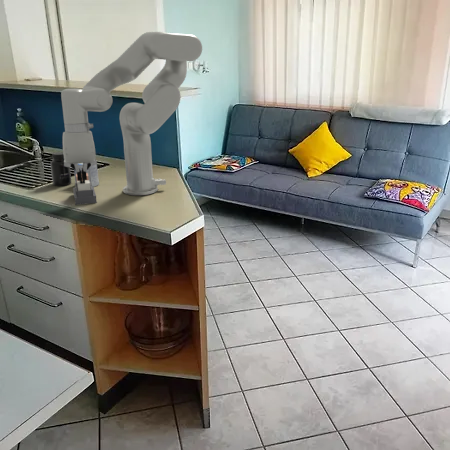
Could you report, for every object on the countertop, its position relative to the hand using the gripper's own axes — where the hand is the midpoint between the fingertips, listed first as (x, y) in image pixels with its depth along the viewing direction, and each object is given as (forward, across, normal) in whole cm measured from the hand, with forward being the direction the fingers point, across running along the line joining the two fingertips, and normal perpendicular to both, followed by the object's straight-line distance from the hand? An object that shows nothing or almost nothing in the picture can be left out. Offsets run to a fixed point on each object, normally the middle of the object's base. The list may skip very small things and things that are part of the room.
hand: (82, 182), depth 161 cm
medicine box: (+7, -2, -20) cm, 21 cm away
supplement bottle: (+7, +7, -25) cm, 27 cm away
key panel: (+7, 0, -3) cm, 7 cm away
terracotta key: (+2, 0, -6) cm, 6 cm away
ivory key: (+3, 0, 0) cm, 3 cm away
